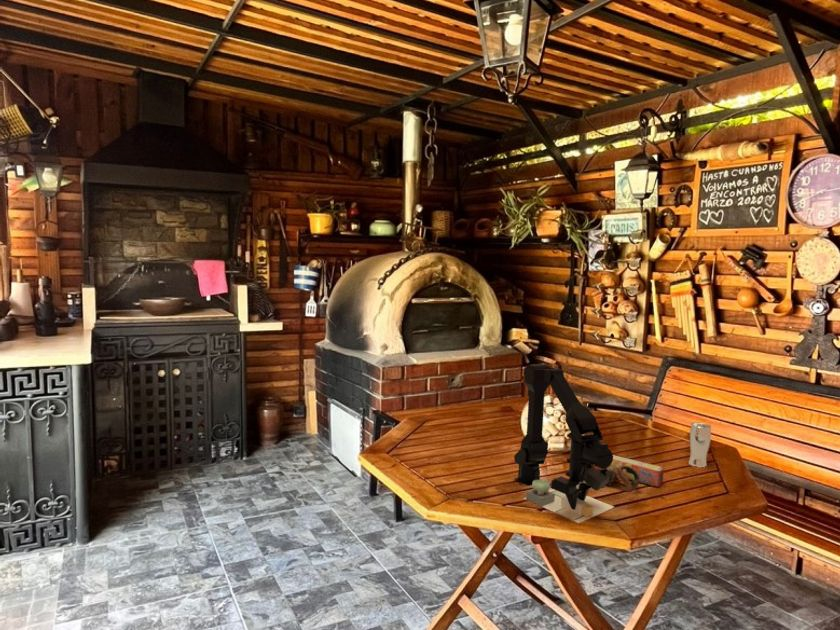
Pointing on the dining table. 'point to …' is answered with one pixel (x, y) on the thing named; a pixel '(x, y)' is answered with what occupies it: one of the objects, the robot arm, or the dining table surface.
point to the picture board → (556, 507)
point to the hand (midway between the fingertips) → (576, 507)
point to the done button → (540, 486)
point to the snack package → (639, 470)
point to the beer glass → (699, 443)
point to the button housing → (540, 497)
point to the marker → (578, 506)
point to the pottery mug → (622, 478)
